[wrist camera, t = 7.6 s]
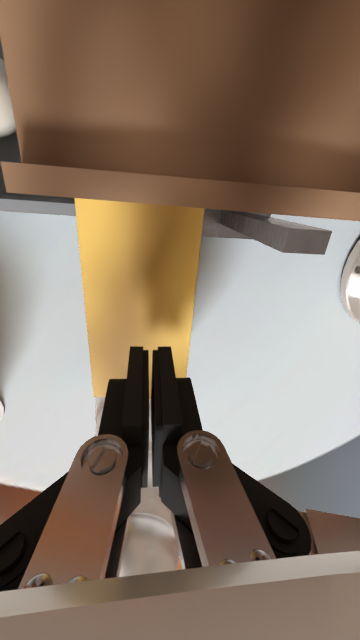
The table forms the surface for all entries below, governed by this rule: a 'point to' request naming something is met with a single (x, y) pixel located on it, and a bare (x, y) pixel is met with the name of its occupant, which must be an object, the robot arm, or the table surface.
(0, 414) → the beer glass
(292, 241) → the pivot stand
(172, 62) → the lever chute
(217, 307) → the table surface
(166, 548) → the plastic bottle
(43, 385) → the table surface
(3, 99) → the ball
